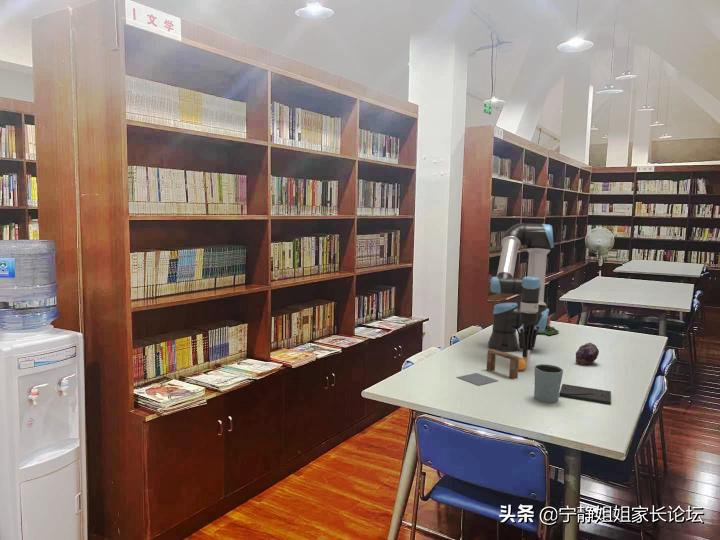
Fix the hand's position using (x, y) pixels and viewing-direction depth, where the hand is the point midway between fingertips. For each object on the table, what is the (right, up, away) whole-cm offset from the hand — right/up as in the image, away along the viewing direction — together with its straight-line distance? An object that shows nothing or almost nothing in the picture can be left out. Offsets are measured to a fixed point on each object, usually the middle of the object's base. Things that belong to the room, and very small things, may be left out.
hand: (525, 363), depth 239 cm
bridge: (-13, -3, -8) cm, 16 cm away
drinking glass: (-4, -7, -38) cm, 39 cm away
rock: (+32, -2, +12) cm, 35 cm away
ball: (-3, 0, -2) cm, 4 cm away
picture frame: (+13, -7, -33) cm, 36 cm away
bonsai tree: (+29, +5, +74) cm, 79 cm away
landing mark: (-25, -3, -17) cm, 30 cm away
